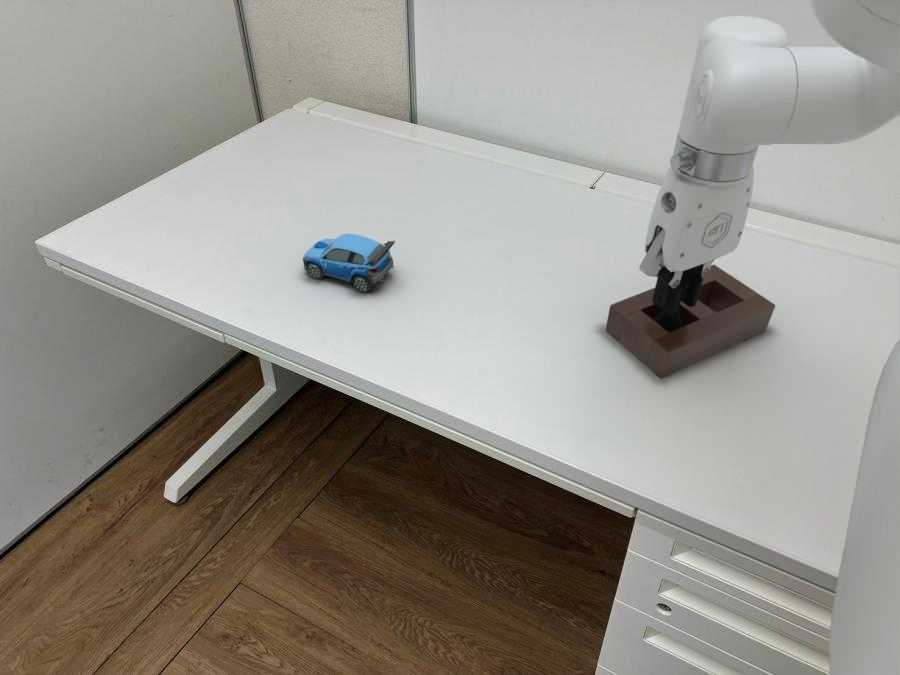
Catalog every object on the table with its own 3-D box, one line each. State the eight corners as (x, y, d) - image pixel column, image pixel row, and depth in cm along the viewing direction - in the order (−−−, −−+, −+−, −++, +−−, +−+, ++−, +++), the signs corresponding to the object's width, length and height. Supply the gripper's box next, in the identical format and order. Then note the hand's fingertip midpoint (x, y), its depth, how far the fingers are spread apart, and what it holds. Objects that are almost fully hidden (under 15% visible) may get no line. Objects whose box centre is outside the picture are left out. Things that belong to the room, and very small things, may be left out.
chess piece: (676, 320, 85) (695, 251, 79) (690, 343, 82) (711, 273, 75) (641, 323, 85) (657, 253, 78) (653, 346, 82) (671, 276, 75)
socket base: (765, 330, 86) (775, 305, 83) (661, 379, 79) (668, 352, 77) (706, 289, 92) (714, 264, 90) (605, 330, 86) (610, 304, 83)
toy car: (322, 253, 98) (317, 218, 94) (399, 273, 94) (397, 237, 91) (299, 275, 94) (293, 239, 90) (378, 297, 90) (375, 261, 87)
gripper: (679, 191, 63) (642, 345, 75) (800, 152, 69) (747, 300, 81) (624, 158, 68) (597, 308, 80) (741, 124, 74) (700, 268, 86)
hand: (673, 303), depth 80 cm, fingers closed on chess piece, 2 cm apart
